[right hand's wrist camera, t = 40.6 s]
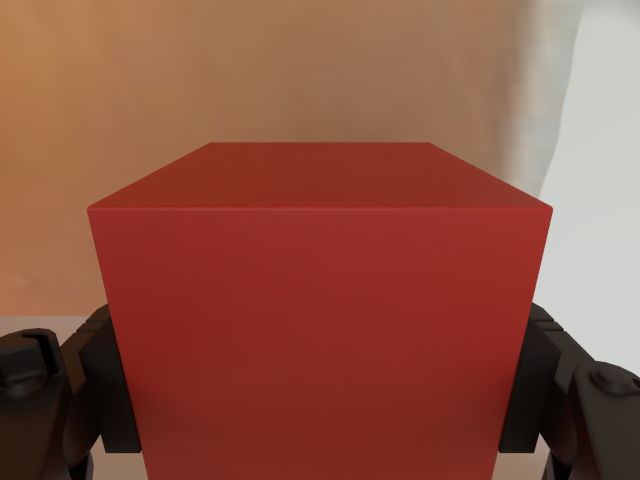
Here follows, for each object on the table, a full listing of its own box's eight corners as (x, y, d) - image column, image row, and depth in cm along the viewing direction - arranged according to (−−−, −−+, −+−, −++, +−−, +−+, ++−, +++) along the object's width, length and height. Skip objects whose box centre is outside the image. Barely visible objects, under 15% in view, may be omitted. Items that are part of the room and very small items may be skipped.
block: (430, 142, 14) (556, 206, 7) (410, 336, 17) (481, 530, 10) (209, 142, 14) (83, 206, 7) (228, 336, 17) (158, 530, 10)
